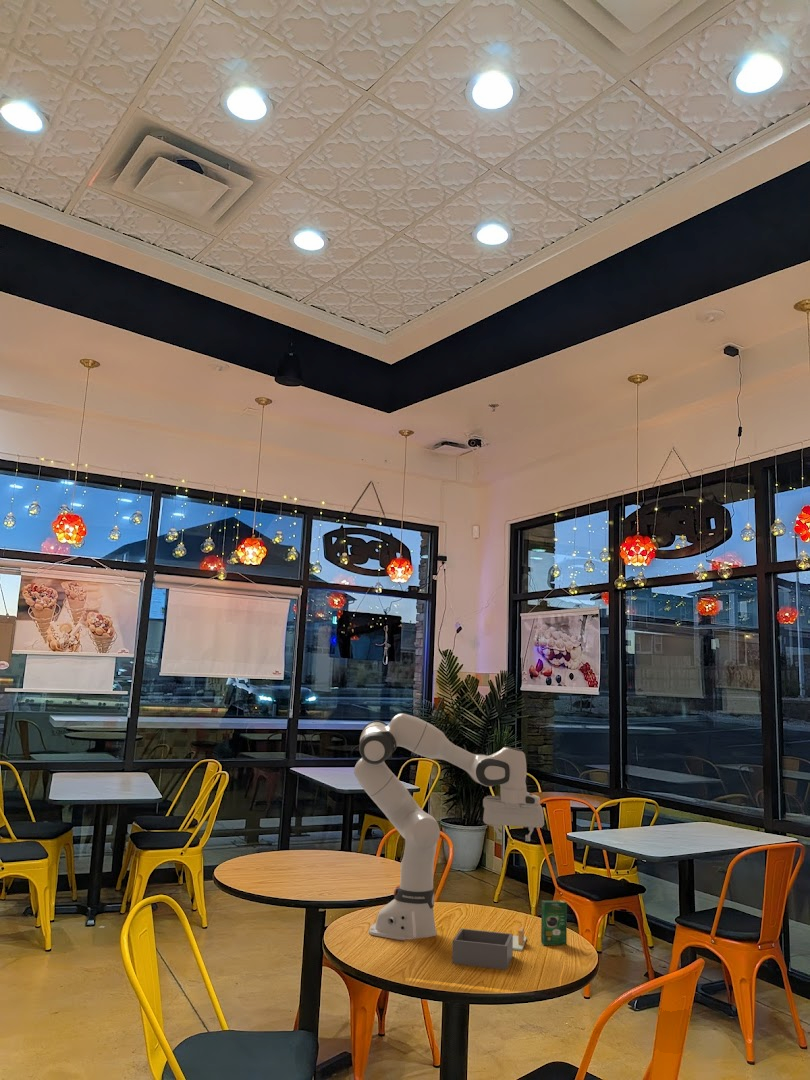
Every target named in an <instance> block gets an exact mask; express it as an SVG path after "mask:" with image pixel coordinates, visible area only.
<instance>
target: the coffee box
mask: <svg viewBox="0 0 810 1080" xmlns="http://www.w3.org/2000/svg"><path fill="white" fill-rule="evenodd" d="M567 914H568V904H567V901H565V900H541V922H540V924H541V926H540V927H541V928H540V929H541V930H540V931H541V932H540V933H541V936H540V938H541V939H540V942H541V943H542V944H541V945H542V946H548V945H550V946H567V941H568V939H567V938H568V937H567V935H568V933H567V932H568V929H567V926H568V925H567V921H568V919H567V918H568V915H567Z"/></svg>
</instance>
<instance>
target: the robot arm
mask: <svg viewBox="0 0 810 1080" xmlns="http://www.w3.org/2000/svg"><path fill="white" fill-rule="evenodd" d="M358 747H359V748H358V751H359V754H360V757H361V758H359V759H358V760H357V761H356V764H355V766H354V767H353V774H354V776H355V778H356V780H357V781H358V784H360V786H361V788H362V789H363V791H364V792H365V793H366V794H367V795H368V797H369V798H370V799H371V800H372V801H373V803H374V804H375V805H376V806H377V807H378V808H379V809H380V811H381V812H382V813H383V814H384V815H385V817H386V818H387V819H388V820H389V822H390V823H391V824H392V826H393V827H394V829H395V830H396V831H397V832H398V834H400V836H401V837H402V838H403V839H405V841H404V843H405V844H404V851H403V855H402V860H401V862H400V878H399V879H400V880H399V881H400V882H399V883H400V884H399V885H397V886H396V887H395V889H394V890H393V896H394V898H393V899H392V900H391V901H390V902H388V903H387V904H385V906H383V907H382V908H381V909H380V910H379V912H378V913H377V917H376V922H375V923H373V924H372V925H371V926H370V927H369V930H368V933H369V934H370V935H371V936H376V937H381V938H387V939H392V940H399V941H403V942H405V940H409V941H410V940H416V939H425V938H430V937H437V935H438V933H437V927H436V922H435V914H434V905H435V897H436V896H435V888H434V868H435V867H434V863H435V857H436V852H437V846H438V841H439V839H440V835H441V830H440V826H439V823H438V821H437V820H436V819H435V817H434V816H432V815H431V814H429V813H428V812H426V811H425V810H423V809H422V808H421V806H420V805H419V804H418V802H416V800H415V798H413V796H412V794H411V793H410V792H409V789H408V788H407V787H406V786H405V785H404V784H403V783H402V782H401V780H400V779H399V778H398V777H397V775H395V773H393V772H392V771H393V770H391V769H390V768H389V767H388V765H387V763H386V762H385V761H386V760H387V759H388V758H390V756H391V755H392V754H393V753H394V752H395V751H396V750H397V748H398V747H401V748H404V749H406V750H408V751H410V752H412V753H414V754H416V755H419V756H421V757H423V758H426V759H431V760H437V759H438V760H442V761H445V762H448V763H450V764H452V765H453V766H456V767H458V768H459V769H462V770H463V771H465V772H466V773H467V774H468V776H469V777H470V778H471V780H473V782H475V783H477V784H479V785H482V786H484V787H488V788H489V787H493V786H500V789H499V791H500V792H499V793H500V795H491V794H490V795H487V796H484V798H483V799H482V807H483V815H482V816H483V817H482V819H483V823H484V824H485V825H493V829H494V832H495V833H496V839H497V840H502V839H503V832H500V831H499V829H498V828H499V826H506V827H507V826H510V827H523V828H528V831H529V833H528V834H525V840H524V841H525V842H531V835H532V834H533V832H534V828H543V827H544V826H545V816H544V809H543V807H542V805H541V804H540V803H541V798H540V796H539V795H536V794H534V793H531V792H528V790H527V784H526V781H527V779H526V778H527V773H528V772H527V771H528V769H527V759H526V754H525V752H524V751H523V750H521V749H519V748H514V747H510V746H503V747H502V748H501V749H500V750H498V751H496V752H494V753H492V754H490V755H488V754H484V753H472V752H469V751H468V750H466V749H464V748H462V747H460V746H458V745H455V743H453V742H451V741H450V740H449V739H448V738H447V736H446V735H445V733H444V732H443V731H442V730H440V729H439V728H437V727H436V726H435V725H433V724H431V723H429V722H427V721H425V720H423V719H421V718H419V717H417V716H415V715H411V714H407V713H402V712H400V713H397V714H396V715H395V716H393V717H392V719H391V720H390V722H389V723H388V724H387V723H385V722H384V721H383V720H373V721H370V722H368V723H367V724H365V726H364V728H363V729H362V732H361V734H360V736H359V746H358Z"/></svg>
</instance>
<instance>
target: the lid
mask: <svg viewBox="0 0 810 1080" xmlns="http://www.w3.org/2000/svg"><path fill="white" fill-rule="evenodd" d="M517 932H518V935H514V934H513V951H517V952H518V951H519V952H523V950H524V947H525V945H526V942H527V938H528V937H527V936H525V926H519V929H518V931H517Z"/></svg>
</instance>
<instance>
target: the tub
mask: <svg viewBox="0 0 810 1080" xmlns="http://www.w3.org/2000/svg"><path fill="white" fill-rule="evenodd" d="M513 935H514V934H513V933H508V932H497V931H490V930H489V931H488V930H481V929H480V930H479V929H469V928H460V929H459V931H457V933H456V935H455V936H454V937H453V939H452V959H451V961H452V965H453V964H454V965H461V966H462V965H463V966H469V967H470V966H472V967H480V968H488V969H496V970H504V971H508V968H509V966H510V964H511V961H512V958H513V957H514V953H513V951H514V950H513Z"/></svg>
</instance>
